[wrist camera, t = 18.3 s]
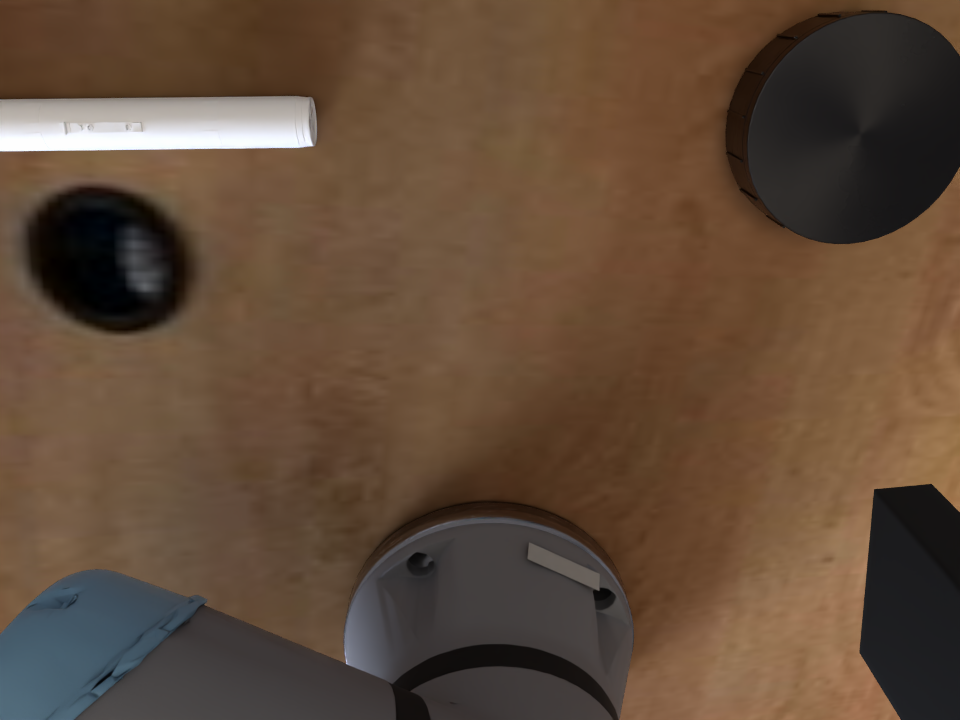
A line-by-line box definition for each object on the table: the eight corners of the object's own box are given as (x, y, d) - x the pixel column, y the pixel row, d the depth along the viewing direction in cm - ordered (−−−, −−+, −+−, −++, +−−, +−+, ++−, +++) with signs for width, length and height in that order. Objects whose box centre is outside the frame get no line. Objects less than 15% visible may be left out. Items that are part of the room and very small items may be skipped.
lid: (694, 75, 37) (714, 80, 34) (902, -30, 35) (940, -33, 33) (765, 260, 40) (789, 279, 37) (958, 171, 39) (998, 184, 36)
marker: (-101, 148, 37) (-136, 157, 35) (-114, 98, 36) (-151, 103, 34) (318, 143, 38) (310, 152, 35) (314, 93, 37) (305, 98, 35)
